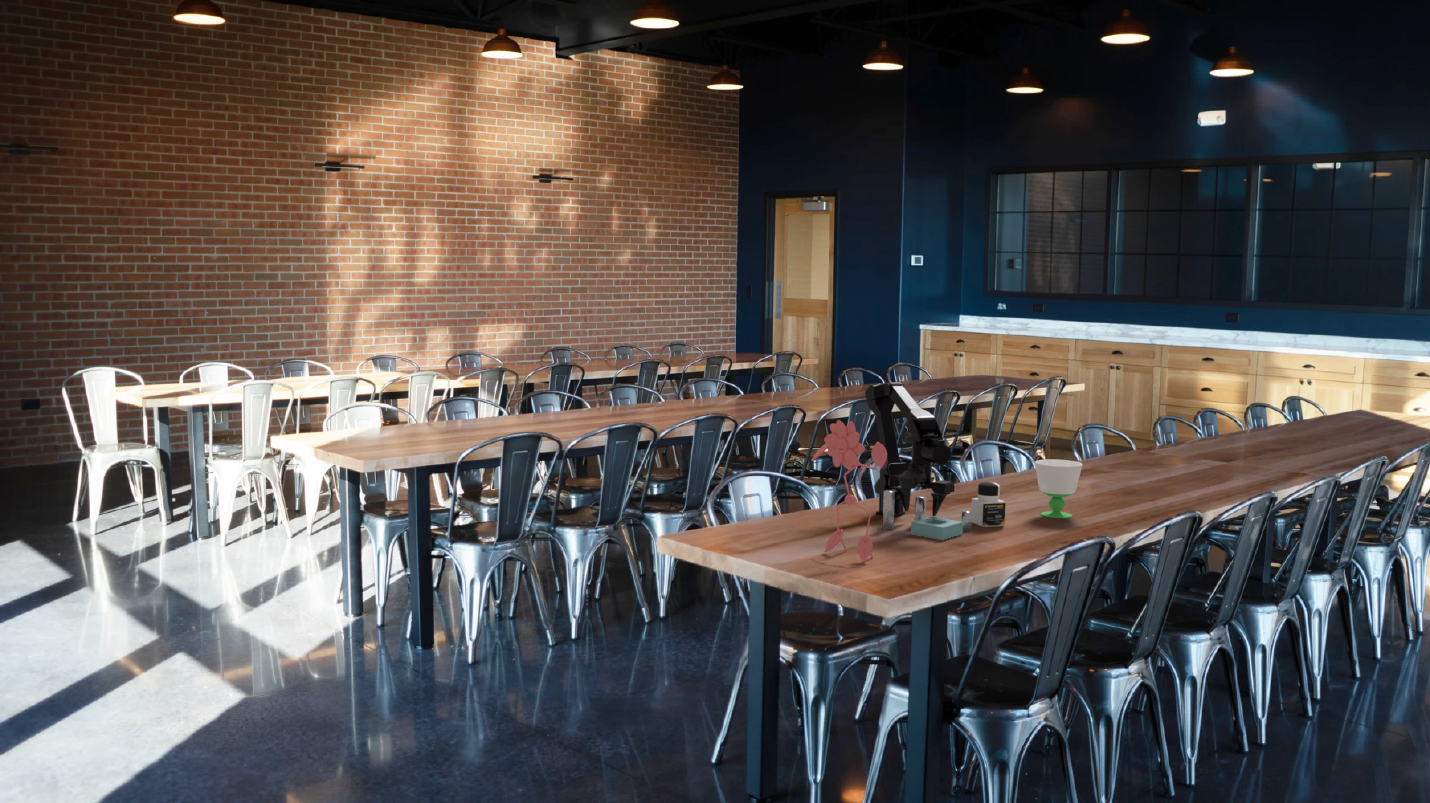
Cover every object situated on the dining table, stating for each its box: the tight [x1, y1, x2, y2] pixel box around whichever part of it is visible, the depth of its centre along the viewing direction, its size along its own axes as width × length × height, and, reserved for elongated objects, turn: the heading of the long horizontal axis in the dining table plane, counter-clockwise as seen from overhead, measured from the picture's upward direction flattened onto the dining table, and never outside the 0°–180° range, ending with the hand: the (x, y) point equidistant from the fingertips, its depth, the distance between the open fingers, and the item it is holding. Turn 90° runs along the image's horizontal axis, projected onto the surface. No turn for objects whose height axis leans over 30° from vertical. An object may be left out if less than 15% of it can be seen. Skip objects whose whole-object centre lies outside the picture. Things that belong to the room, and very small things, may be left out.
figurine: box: [810, 419, 887, 569], centre depth 287 cm, size 15×26×35 cm, turn 40°
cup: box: [1034, 458, 1083, 519], centre depth 344 cm, size 14×14×16 cm
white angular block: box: [970, 481, 1007, 528], centre depth 331 cm, size 7×7×12 cm
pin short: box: [960, 510, 973, 531], centre depth 324 cm, size 3×3×5 cm
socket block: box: [910, 516, 964, 541], centre depth 317 cm, size 10×10×4 cm
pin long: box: [882, 490, 895, 530], centre depth 324 cm, size 3×3×10 cm
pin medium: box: [914, 495, 927, 521], centre depth 329 cm, size 3×3×8 cm
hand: (920, 513), depth 329 cm, fingers open, 9 cm apart
